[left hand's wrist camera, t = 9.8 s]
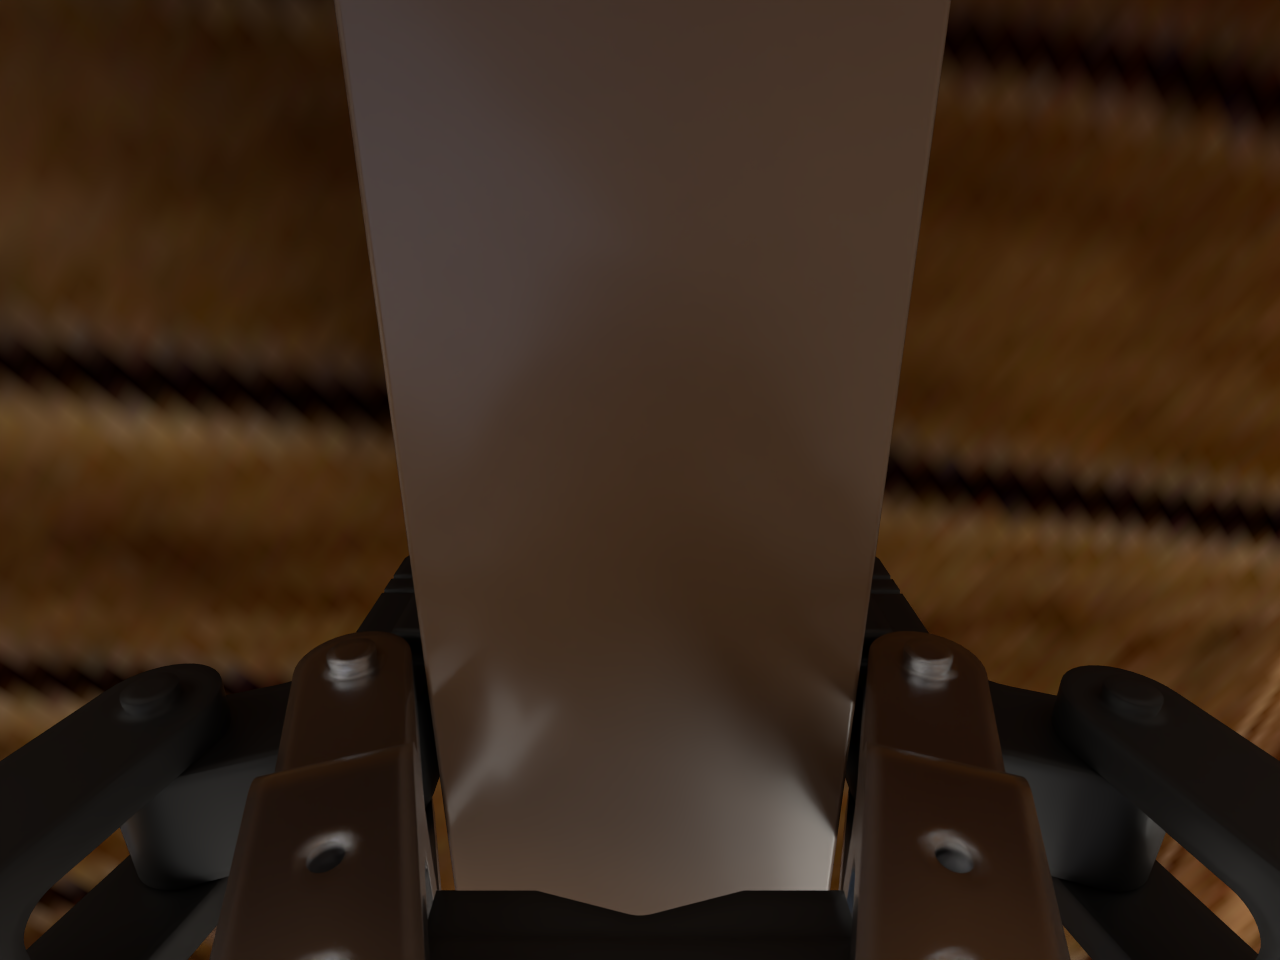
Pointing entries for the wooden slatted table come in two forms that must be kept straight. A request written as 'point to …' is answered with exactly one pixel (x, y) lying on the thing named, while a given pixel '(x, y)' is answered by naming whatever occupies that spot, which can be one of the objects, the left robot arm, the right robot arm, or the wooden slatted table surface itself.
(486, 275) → the beam
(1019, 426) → the wooden slatted table surface
